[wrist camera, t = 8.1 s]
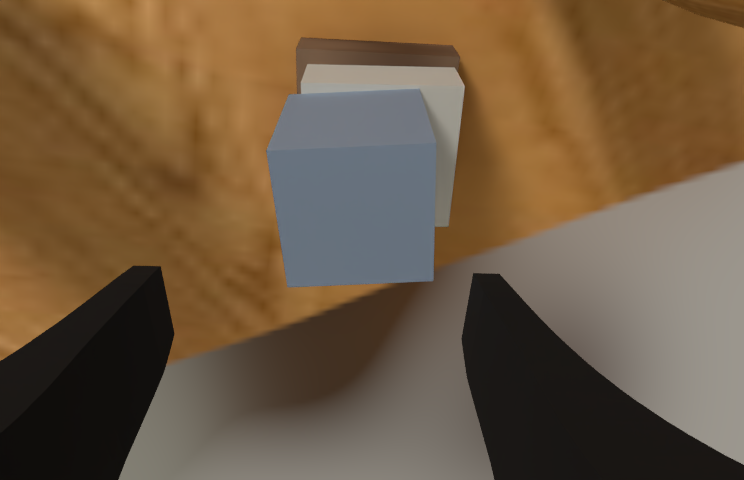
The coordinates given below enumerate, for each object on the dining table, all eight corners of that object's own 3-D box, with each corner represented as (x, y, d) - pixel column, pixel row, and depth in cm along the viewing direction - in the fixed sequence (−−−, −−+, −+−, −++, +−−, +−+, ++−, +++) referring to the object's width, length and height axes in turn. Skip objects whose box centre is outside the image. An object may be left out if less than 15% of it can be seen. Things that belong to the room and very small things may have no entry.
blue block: (303, 209, 19) (287, 287, 15) (289, 94, 16) (266, 150, 13) (418, 204, 19) (433, 280, 15) (419, 88, 16) (436, 142, 13)
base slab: (304, 171, 23) (299, 195, 21) (302, 34, 20) (296, 48, 18) (433, 176, 23) (440, 200, 21) (450, 42, 20) (460, 57, 18)
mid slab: (312, 195, 21) (307, 224, 19) (307, 63, 18) (300, 82, 16) (441, 198, 21) (448, 226, 19) (454, 67, 18) (465, 86, 16)
